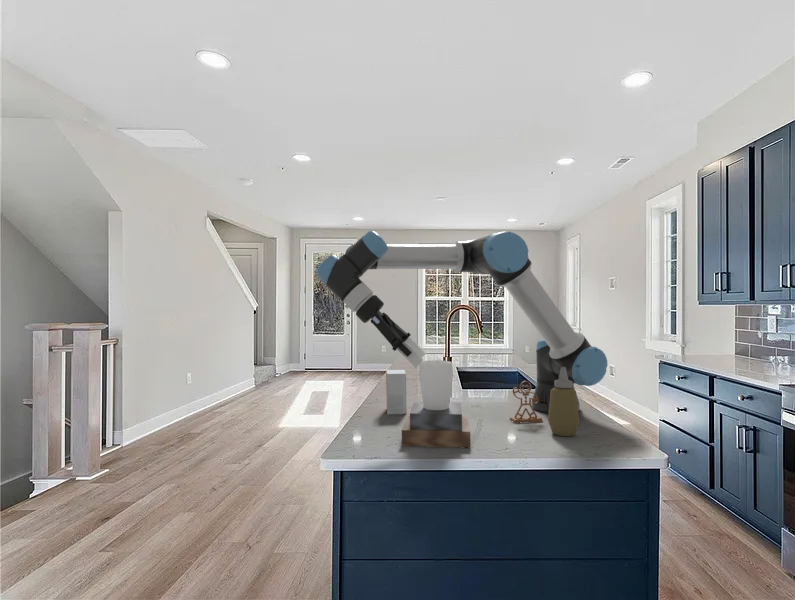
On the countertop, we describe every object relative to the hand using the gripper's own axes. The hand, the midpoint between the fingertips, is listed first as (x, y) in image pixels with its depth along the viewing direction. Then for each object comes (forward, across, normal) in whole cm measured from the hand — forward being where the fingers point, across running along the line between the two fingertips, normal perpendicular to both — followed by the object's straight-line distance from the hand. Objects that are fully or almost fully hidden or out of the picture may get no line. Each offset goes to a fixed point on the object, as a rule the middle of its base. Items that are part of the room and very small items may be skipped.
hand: (421, 360), depth 128 cm
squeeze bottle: (+42, -7, +12) cm, 44 cm away
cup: (+12, 0, -6) cm, 13 cm away
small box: (+8, -30, -22) cm, 37 cm away
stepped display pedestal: (+17, 0, -12) cm, 21 cm away
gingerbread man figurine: (+36, -20, +6) cm, 42 cm away
